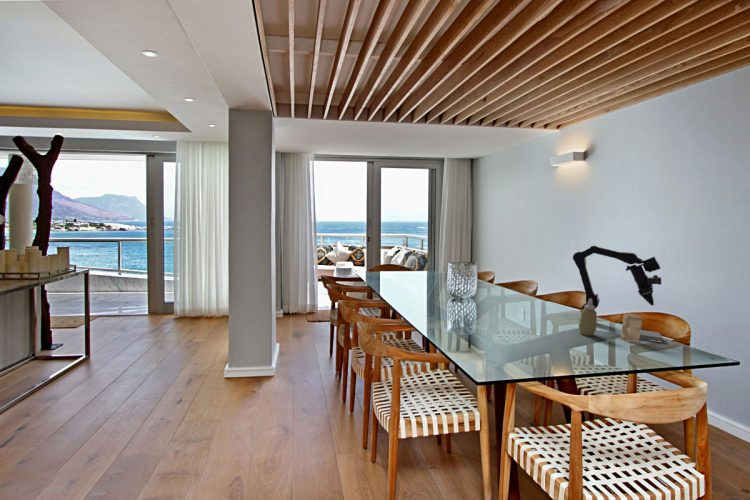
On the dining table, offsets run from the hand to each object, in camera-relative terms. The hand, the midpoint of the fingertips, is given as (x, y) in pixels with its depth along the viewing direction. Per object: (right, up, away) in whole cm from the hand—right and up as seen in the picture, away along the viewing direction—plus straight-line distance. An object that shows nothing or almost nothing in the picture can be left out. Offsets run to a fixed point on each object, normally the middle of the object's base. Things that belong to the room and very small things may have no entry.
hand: (652, 303), depth 234 cm
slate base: (-9, -16, -10) cm, 21 cm away
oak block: (-21, -16, -16) cm, 31 cm away
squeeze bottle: (-39, -14, -10) cm, 43 cm away
